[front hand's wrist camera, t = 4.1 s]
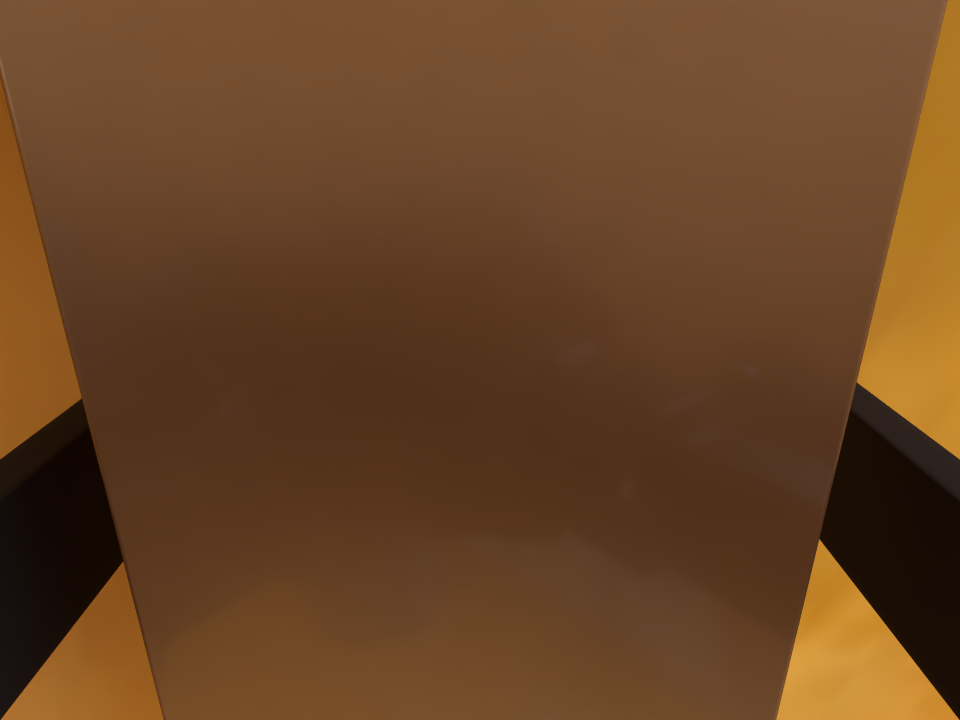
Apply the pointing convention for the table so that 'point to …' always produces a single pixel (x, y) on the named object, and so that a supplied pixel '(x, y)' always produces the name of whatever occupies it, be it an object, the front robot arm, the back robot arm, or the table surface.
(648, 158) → the bar
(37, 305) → the table surface
